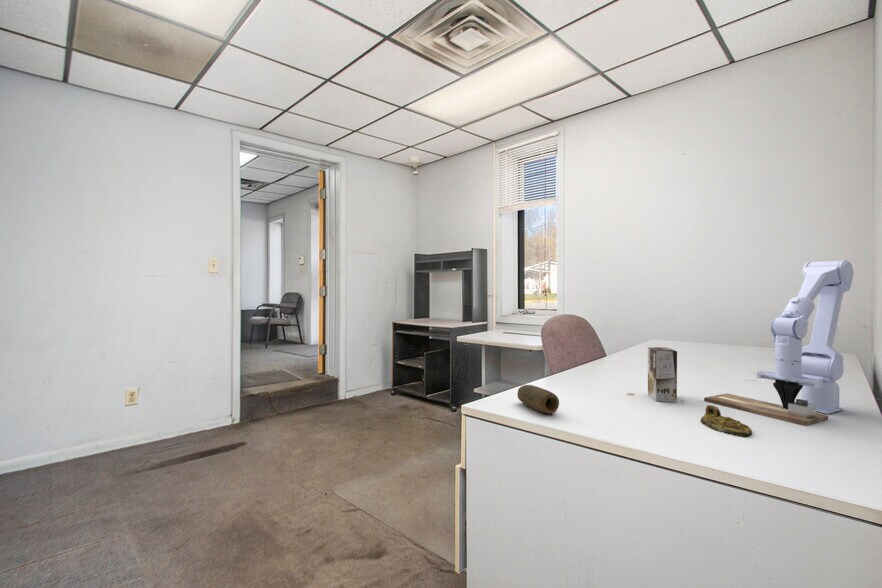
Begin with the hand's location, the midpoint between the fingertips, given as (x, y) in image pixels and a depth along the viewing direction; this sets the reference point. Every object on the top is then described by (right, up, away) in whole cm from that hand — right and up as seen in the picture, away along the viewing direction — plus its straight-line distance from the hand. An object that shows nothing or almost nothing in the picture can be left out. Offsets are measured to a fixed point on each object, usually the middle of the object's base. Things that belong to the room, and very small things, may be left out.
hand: (787, 408), depth 115 cm
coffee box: (-25, -2, +18) cm, 31 cm away
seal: (-24, -3, -9) cm, 26 cm away
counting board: (-3, -2, +6) cm, 7 cm away
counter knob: (+1, -1, -3) cm, 3 cm away
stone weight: (-68, -3, +8) cm, 69 cm away
